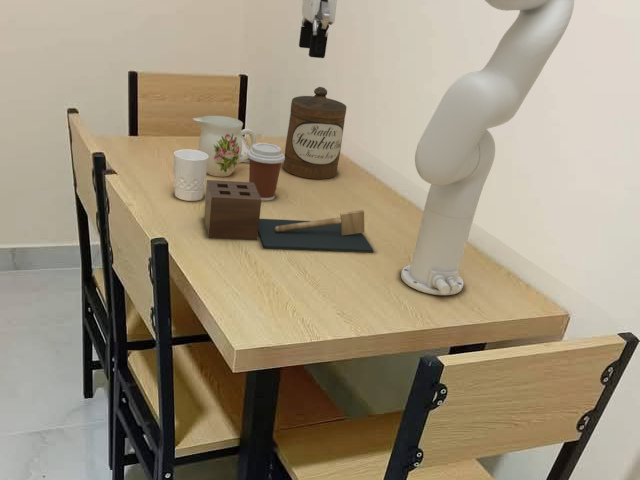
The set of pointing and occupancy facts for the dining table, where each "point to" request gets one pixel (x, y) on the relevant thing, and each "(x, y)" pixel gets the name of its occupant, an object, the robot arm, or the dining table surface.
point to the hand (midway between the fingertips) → (311, 52)
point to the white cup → (190, 174)
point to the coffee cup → (265, 168)
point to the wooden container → (314, 136)
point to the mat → (310, 237)
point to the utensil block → (232, 210)
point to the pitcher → (222, 143)
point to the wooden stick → (332, 223)
